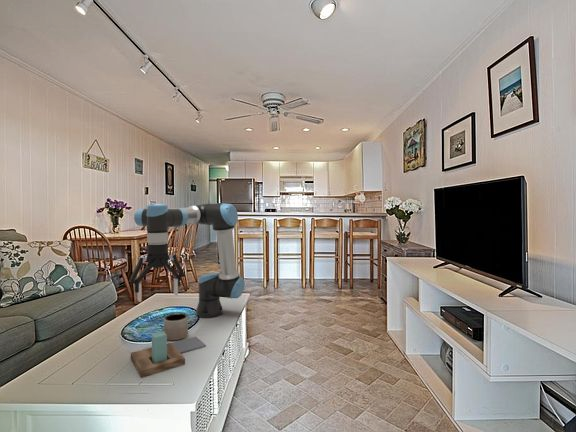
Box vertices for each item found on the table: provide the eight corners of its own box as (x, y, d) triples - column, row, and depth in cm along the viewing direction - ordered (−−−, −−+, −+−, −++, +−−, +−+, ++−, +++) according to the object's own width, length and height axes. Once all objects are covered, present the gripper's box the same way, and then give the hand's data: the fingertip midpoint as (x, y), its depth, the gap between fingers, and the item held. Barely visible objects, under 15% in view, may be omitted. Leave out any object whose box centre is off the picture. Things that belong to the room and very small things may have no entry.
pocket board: (170, 348, 138) (170, 342, 138) (184, 364, 124) (184, 358, 124) (130, 358, 129) (130, 352, 129) (141, 377, 114) (141, 370, 114)
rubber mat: (195, 337, 149) (195, 336, 149) (206, 346, 140) (206, 345, 140) (170, 344, 142) (170, 343, 142) (178, 354, 133) (178, 352, 133)
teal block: (163, 360, 127) (163, 331, 127) (167, 365, 124) (166, 334, 123) (151, 364, 124) (151, 333, 124) (155, 368, 121) (154, 337, 120)
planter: (158, 338, 148) (158, 318, 148) (176, 330, 158) (176, 311, 158) (175, 343, 143) (175, 322, 143) (192, 334, 153) (192, 315, 153)
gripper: (186, 240, 133) (186, 290, 134) (120, 244, 118) (120, 301, 119) (192, 242, 127) (192, 294, 128) (123, 246, 112) (124, 305, 113)
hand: (158, 297), depth 123 cm, fingers open, 13 cm apart
